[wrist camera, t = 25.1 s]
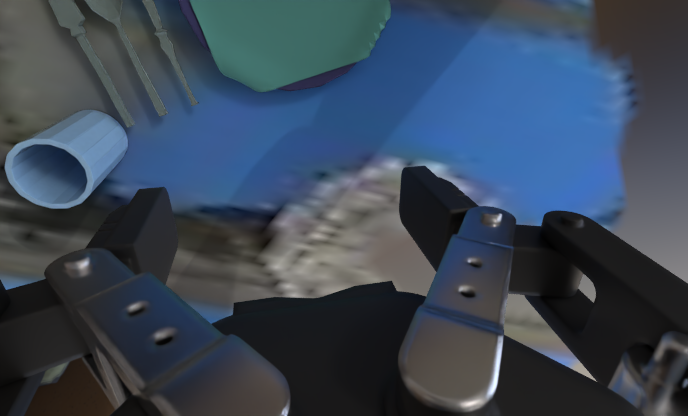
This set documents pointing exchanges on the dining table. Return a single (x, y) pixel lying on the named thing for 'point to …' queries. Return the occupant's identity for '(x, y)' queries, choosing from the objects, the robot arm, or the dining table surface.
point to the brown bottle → (69, 393)
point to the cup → (66, 159)
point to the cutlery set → (250, 40)
